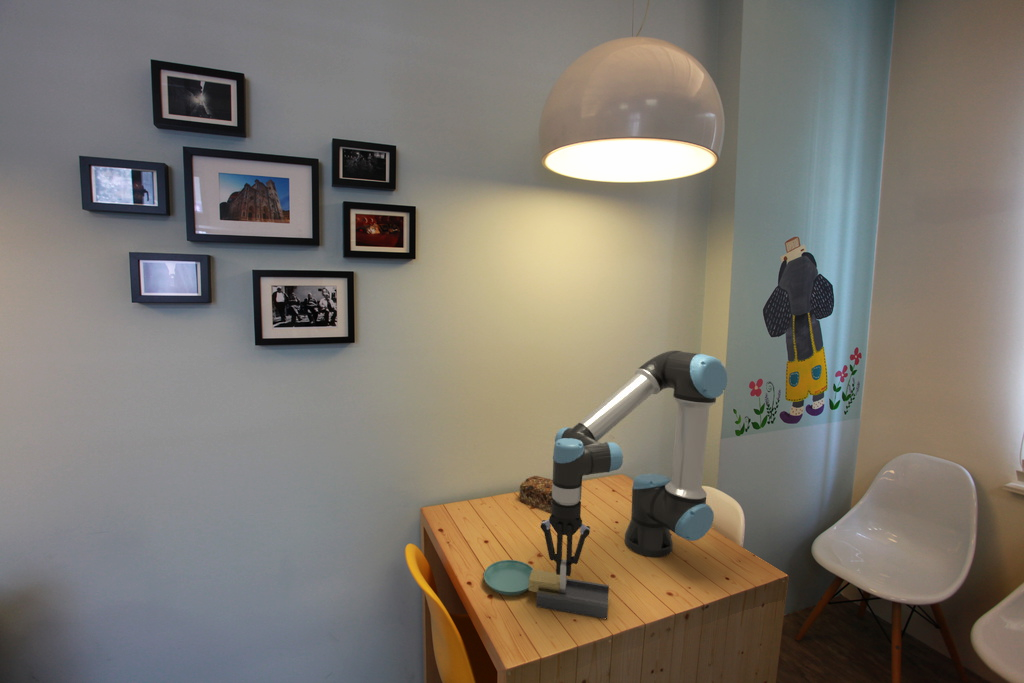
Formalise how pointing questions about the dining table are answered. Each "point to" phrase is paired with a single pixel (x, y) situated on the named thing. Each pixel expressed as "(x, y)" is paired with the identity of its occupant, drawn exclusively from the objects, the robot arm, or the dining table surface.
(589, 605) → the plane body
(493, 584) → the saucer
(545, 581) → the tan rectangular block
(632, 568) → the dining table surface
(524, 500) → the bread
